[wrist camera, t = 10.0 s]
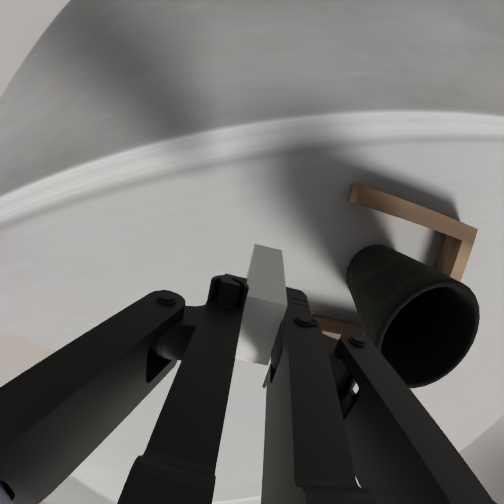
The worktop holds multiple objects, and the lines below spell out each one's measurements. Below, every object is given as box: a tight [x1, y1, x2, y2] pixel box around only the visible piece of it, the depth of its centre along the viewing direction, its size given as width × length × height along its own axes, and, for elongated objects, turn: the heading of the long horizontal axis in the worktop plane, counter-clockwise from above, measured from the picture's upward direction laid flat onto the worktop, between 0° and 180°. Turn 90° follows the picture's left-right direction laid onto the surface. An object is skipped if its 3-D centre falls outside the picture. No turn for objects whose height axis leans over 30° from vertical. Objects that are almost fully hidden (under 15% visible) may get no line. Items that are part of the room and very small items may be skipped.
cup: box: [346, 245, 480, 388], centre depth 21 cm, size 8×8×12 cm
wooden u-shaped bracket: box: [311, 184, 478, 340], centre depth 26 cm, size 14×12×3 cm
